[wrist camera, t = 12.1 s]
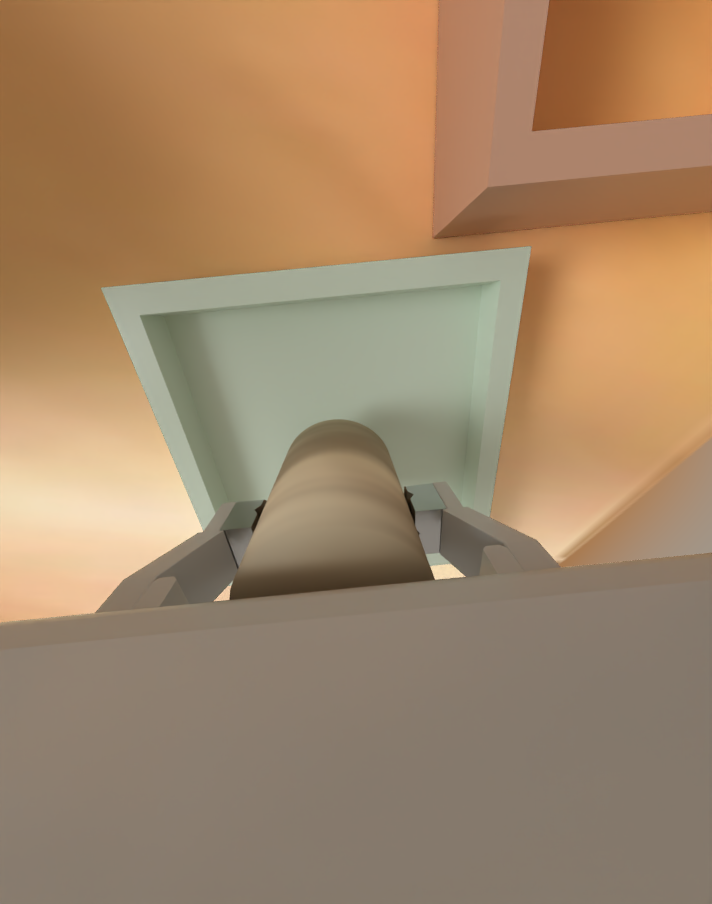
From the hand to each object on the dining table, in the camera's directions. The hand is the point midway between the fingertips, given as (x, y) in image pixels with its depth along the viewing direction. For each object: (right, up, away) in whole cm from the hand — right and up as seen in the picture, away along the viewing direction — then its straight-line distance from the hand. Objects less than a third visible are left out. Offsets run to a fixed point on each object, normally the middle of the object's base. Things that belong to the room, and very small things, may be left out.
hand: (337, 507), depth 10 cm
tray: (0, +3, +6) cm, 6 cm away
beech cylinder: (0, +1, +3) cm, 3 cm away
